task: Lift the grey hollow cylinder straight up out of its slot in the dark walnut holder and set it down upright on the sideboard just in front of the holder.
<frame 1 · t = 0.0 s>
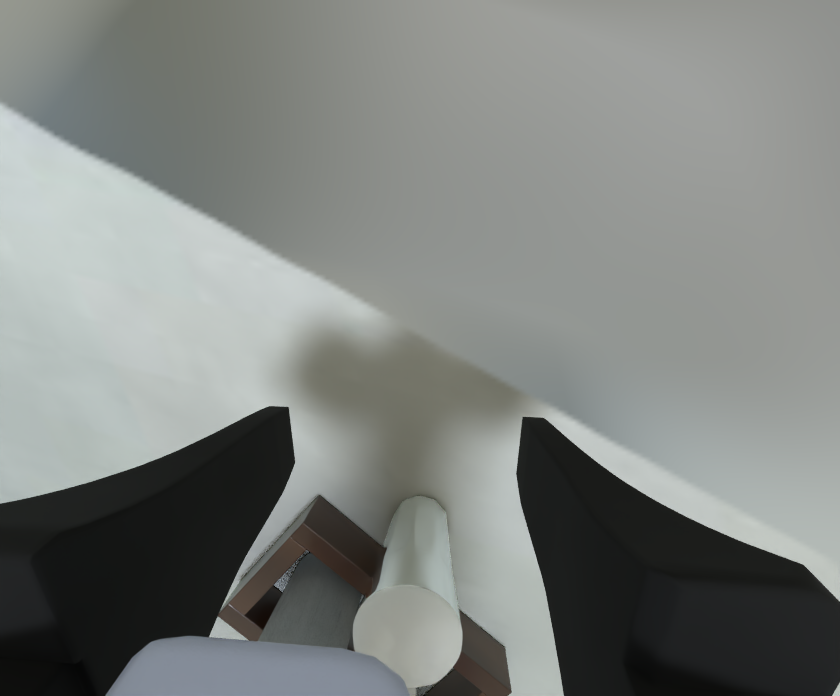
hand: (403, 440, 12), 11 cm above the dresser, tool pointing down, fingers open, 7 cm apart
holder: (371, 613, 26), on the dresser
milkshake: (421, 523, 24), on the dresser
grey hollow cylinder: (330, 577, 26), resting in holder
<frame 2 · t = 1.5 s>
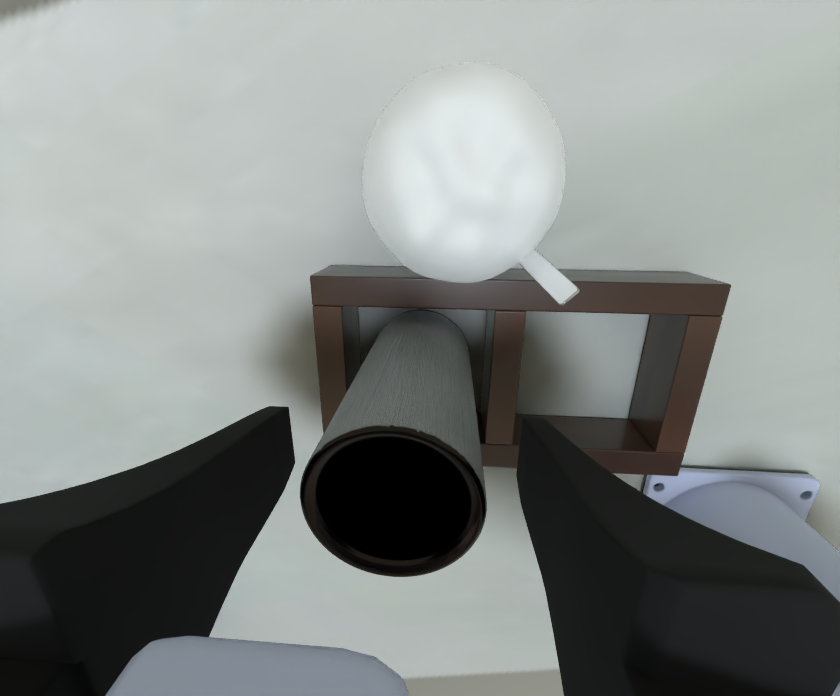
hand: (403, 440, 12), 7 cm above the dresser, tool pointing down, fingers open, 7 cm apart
holder: (496, 357, 19), on the dresser
milkshake: (463, 200, 17), on the dresser
grey hollow cylinder: (421, 353, 19), resting in holder
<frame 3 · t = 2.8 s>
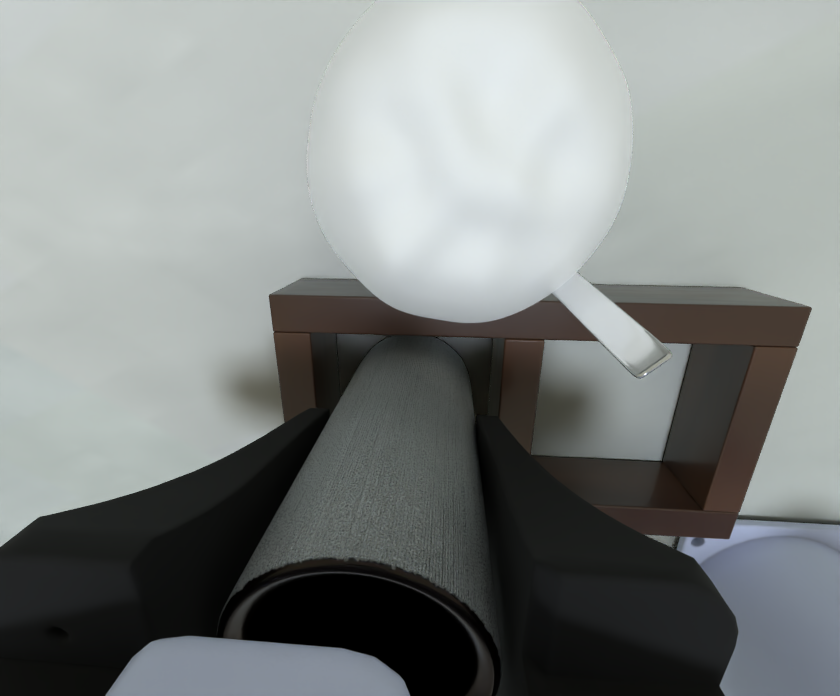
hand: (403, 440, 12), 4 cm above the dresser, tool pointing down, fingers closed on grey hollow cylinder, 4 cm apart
holder: (504, 388, 16), on the dresser
milkshake: (464, 198, 13), on the dresser
grey hollow cylinder: (413, 383, 16), resting in holder, touching gripper
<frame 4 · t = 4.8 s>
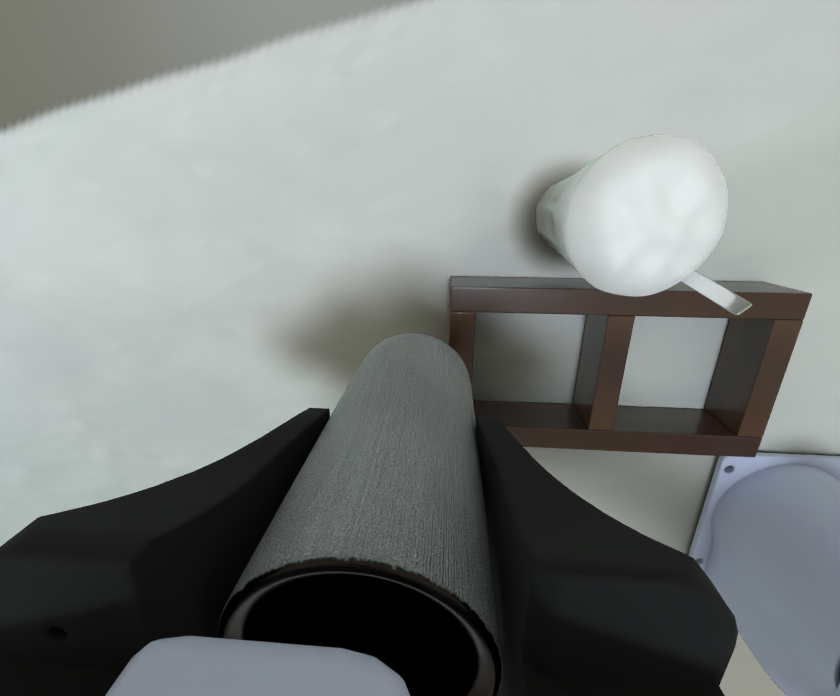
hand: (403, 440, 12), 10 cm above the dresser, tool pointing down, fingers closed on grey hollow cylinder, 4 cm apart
holder: (591, 355, 22), on the dresser
milkshake: (572, 220, 20), on the dresser
grey hollow cylinder: (414, 383, 16), point 6 cm above the dresser, touching gripper
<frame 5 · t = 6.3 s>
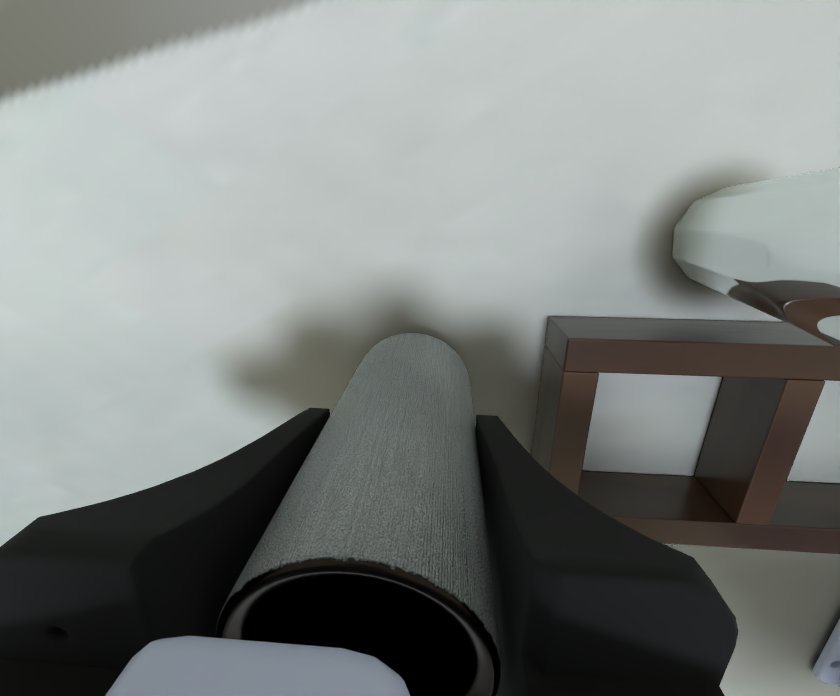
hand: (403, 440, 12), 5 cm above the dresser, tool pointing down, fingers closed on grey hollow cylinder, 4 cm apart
holder: (725, 417, 17), on the dresser
milkshake: (720, 244, 14), on the dresser
grey hollow cylinder: (413, 383, 16), point 1 cm above the dresser, touching gripper
when the fingers open (4 cm above the dresser, at t = 7.2 s): grey hollow cylinder stays where it is, on the dresser.
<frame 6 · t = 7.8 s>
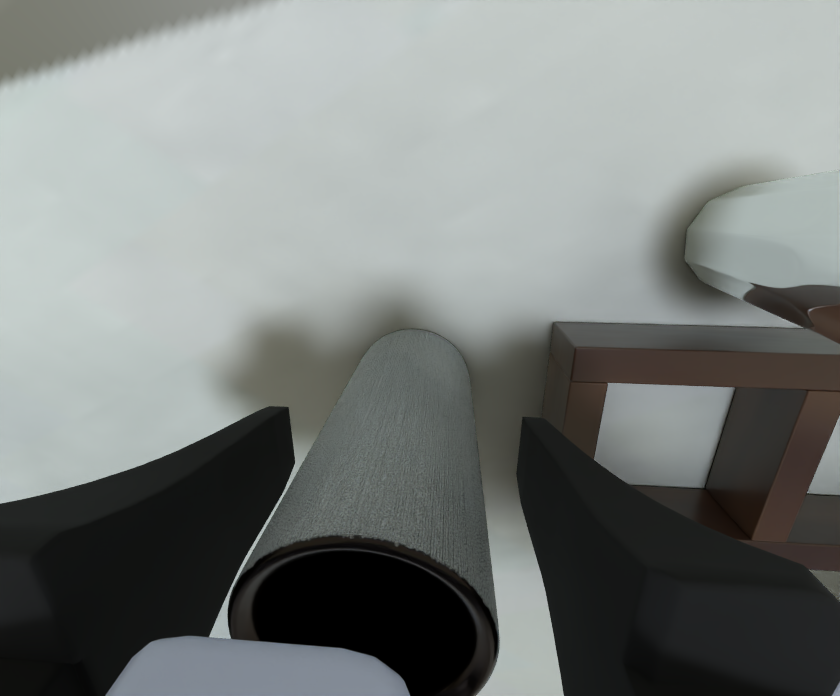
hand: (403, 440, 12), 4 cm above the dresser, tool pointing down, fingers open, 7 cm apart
holder: (739, 428, 16), on the dresser
milkshake: (735, 246, 14), on the dresser
grey hollow cylinder: (414, 378, 16), on the dresser
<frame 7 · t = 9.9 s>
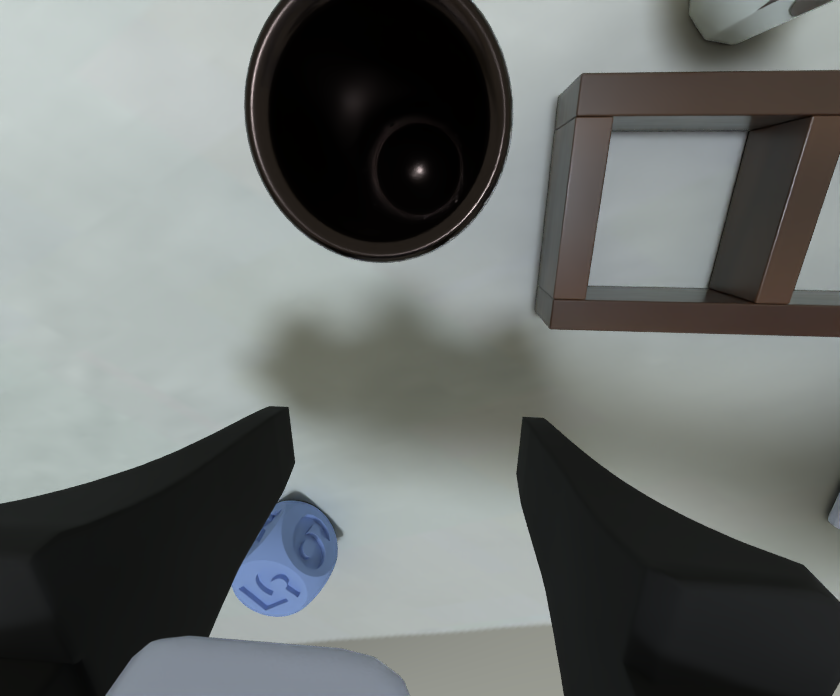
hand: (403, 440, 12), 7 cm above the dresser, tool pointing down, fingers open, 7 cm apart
decorative dice: (299, 524, 23), on the dresser
holder: (742, 214, 16), on the dresser
milkshake: (739, 2, 14), on the dresser
grey hollow cylinder: (419, 172, 16), on the dresser
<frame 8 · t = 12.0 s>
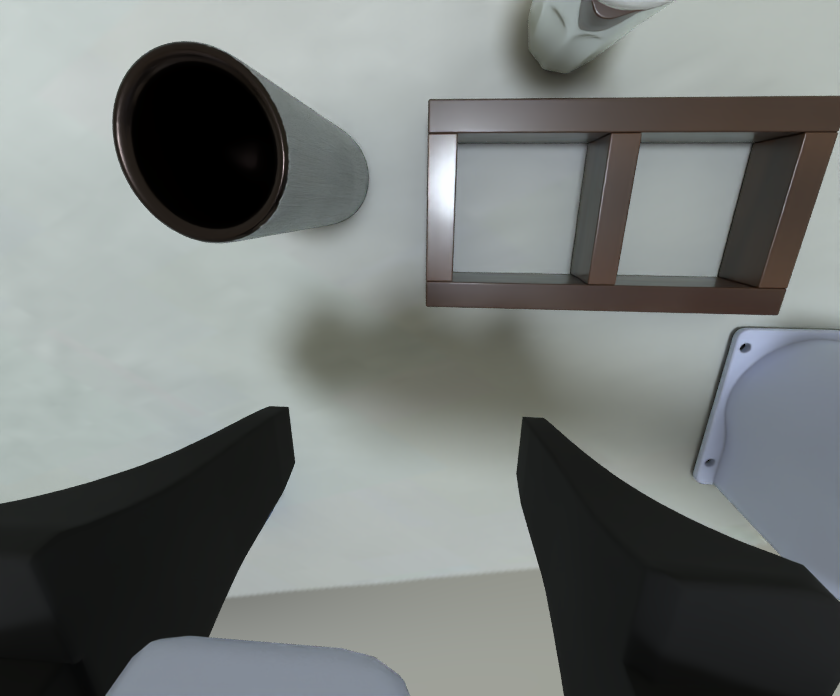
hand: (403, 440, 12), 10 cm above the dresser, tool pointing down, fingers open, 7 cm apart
holder: (591, 212, 19), on the dresser
milkshake: (569, 39, 17), on the dresser
grey hollow cylinder: (324, 176, 20), on the dresser
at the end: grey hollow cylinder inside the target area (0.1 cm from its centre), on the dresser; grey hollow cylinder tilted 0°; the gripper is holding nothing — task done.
